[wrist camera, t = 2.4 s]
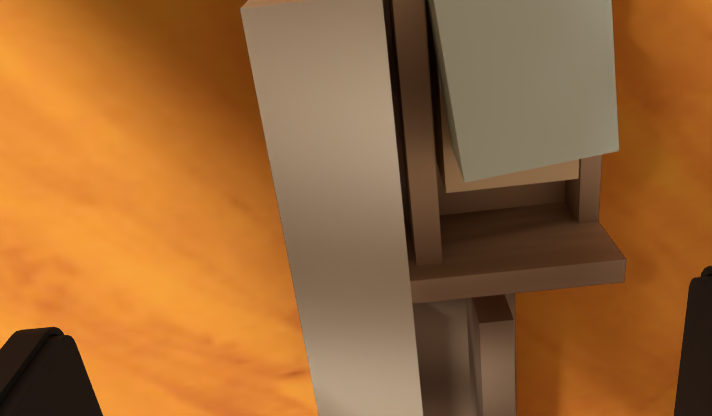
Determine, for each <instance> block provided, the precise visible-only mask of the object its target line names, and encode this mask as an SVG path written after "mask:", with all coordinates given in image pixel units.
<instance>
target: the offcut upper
mask: <svg viewBox="0 0 712 416" xmlns="http://www.w3.org/2000/svg"><path fill="white" fill-rule="evenodd" d="M426 1H427V7H428V12H429V18H430V24H431V30H432V35H433V41H434V47H435V53H436V59H437V64H438V70H439V76H440V82H441V88H442V93H443V99H444V105H445V111H446V116H447V122H448V128H449V134H450V140H451V145H452V150H453V153H454V156H455V158H456V161H457V164H458V166H459V169H460V172H461V174H462V177H463V180H464V182H465V183H466V182H471V181H476V180H481V179H485V178H490V177H495V176H500V175H505V174H510V173H515V172H519V171H524V170H529V169H534V168H539V167H544V166H549V165H553V164H558V163H563V162H568V161H573V160H578V159H583V158H587V157H592V156H597V155H602V154H607V153H612V152H617V151H619V137H618V117H617V97H616V77H615V57H614V37H613V17H612V0H426Z"/></svg>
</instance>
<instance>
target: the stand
mask: <svg viewBox="0 0 712 416" xmlns="http://www.w3.org/2000/svg"><path fill="white" fill-rule="evenodd" d="M412 307H413V317H414V327H415V337H416V347H417V358H418V368H419V378H420V388H421V398H422V409H423V416H516V339H515V293H512V294H502V295H492V296H482V297H472V298H462V299H452V300H442V301H433V302H423V303H413V304H412Z"/></svg>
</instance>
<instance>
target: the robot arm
mask: <svg viewBox="0 0 712 416" xmlns="http://www.w3.org/2000/svg"><path fill="white" fill-rule="evenodd" d="M0 416H103V414H102V412H101V409H100V406H99V404H98V401H97V398H96V396H95V393H94V390H93V388H92V385H91V382H90V380H89V377H88V374H87V372H86V369H85V366H84V364H83V361H82V358H81V356H80V353H79V351H78V348H77V345H76V343H75V341H74V339H73V338H72V337H71V336H69V335H64V334H63V332H62V331H61V330H60V329H59V328H56V327H47V328H36V329H26V330H19V331H16V332H15V333H14V334H13V335H12V336H11V337H10V338H9V339H8V341H7V342H6V343H5V344H4V345H3V347H2V348H1V349H0ZM674 416H712V266H708V267H706V268H704V270H703V272H702V273H701V277H696V278H693V279H692V280H691V282H690V286H689V293H688V301H687V309H686V318H685V326H684V335H683V343H682V351H681V360H680V368H679V376H678V385H677V393H676V402H675V410H674Z"/></svg>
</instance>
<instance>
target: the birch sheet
mask: <svg viewBox="0 0 712 416" xmlns="http://www.w3.org/2000/svg"><path fill="white" fill-rule="evenodd" d="M240 12H241V17H242V22H243V27H244V32H245V37H246V43H247V48H248V53H249V58H250V63H251V68H252V74H253V79H254V84H255V89H256V94H257V100H258V105H259V110H260V115H261V120H262V125H263V131H264V136H265V141H266V146H267V151H268V156H269V162H270V167H271V172H272V177H273V182H274V187H275V193H276V198H277V203H278V208H279V213H280V219H281V224H282V229H283V234H284V239H285V244H286V250H287V255H288V260H289V265H290V270H291V275H292V281H293V286H294V291H295V296H296V301H297V306H298V312H299V317H300V322H301V327H302V332H303V337H304V343H305V348H306V353H307V358H308V363H309V369H310V374H311V379H312V384H313V389H314V394H315V400H316V405H317V410H318V415H319V416H423V409H422V398H421V388H420V378H419V368H418V358H417V347H416V337H415V327H414V317H413V307H412V296H411V286H410V276H409V266H408V255H407V245H406V235H405V225H404V215H403V204H402V194H401V184H400V174H399V164H398V153H397V143H396V133H395V123H394V113H393V102H392V92H391V82H390V72H389V62H388V51H387V41H386V31H385V21H384V11H383V0H248V1H247V2H246V3H245V4H244V5H243V6H242V7H241V8H240Z"/></svg>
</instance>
